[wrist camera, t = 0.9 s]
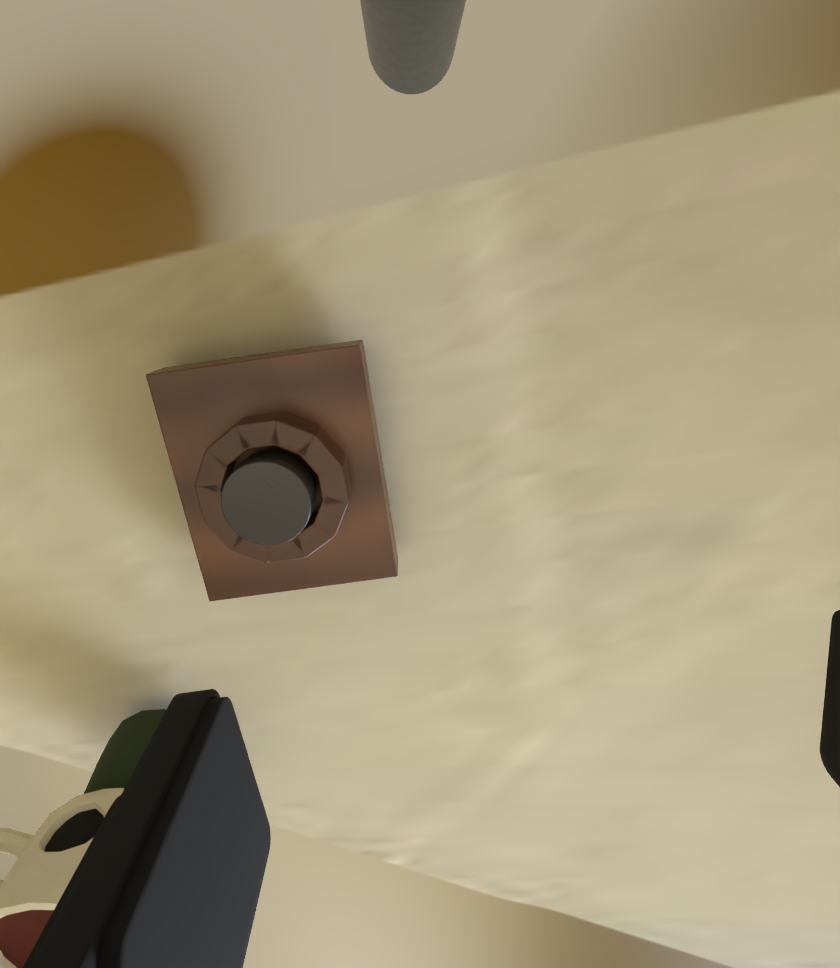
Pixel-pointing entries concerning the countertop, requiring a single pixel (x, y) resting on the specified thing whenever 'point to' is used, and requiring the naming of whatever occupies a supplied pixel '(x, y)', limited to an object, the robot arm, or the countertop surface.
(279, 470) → the button
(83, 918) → the robot arm
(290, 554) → the button box
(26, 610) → the countertop surface
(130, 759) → the character mug
